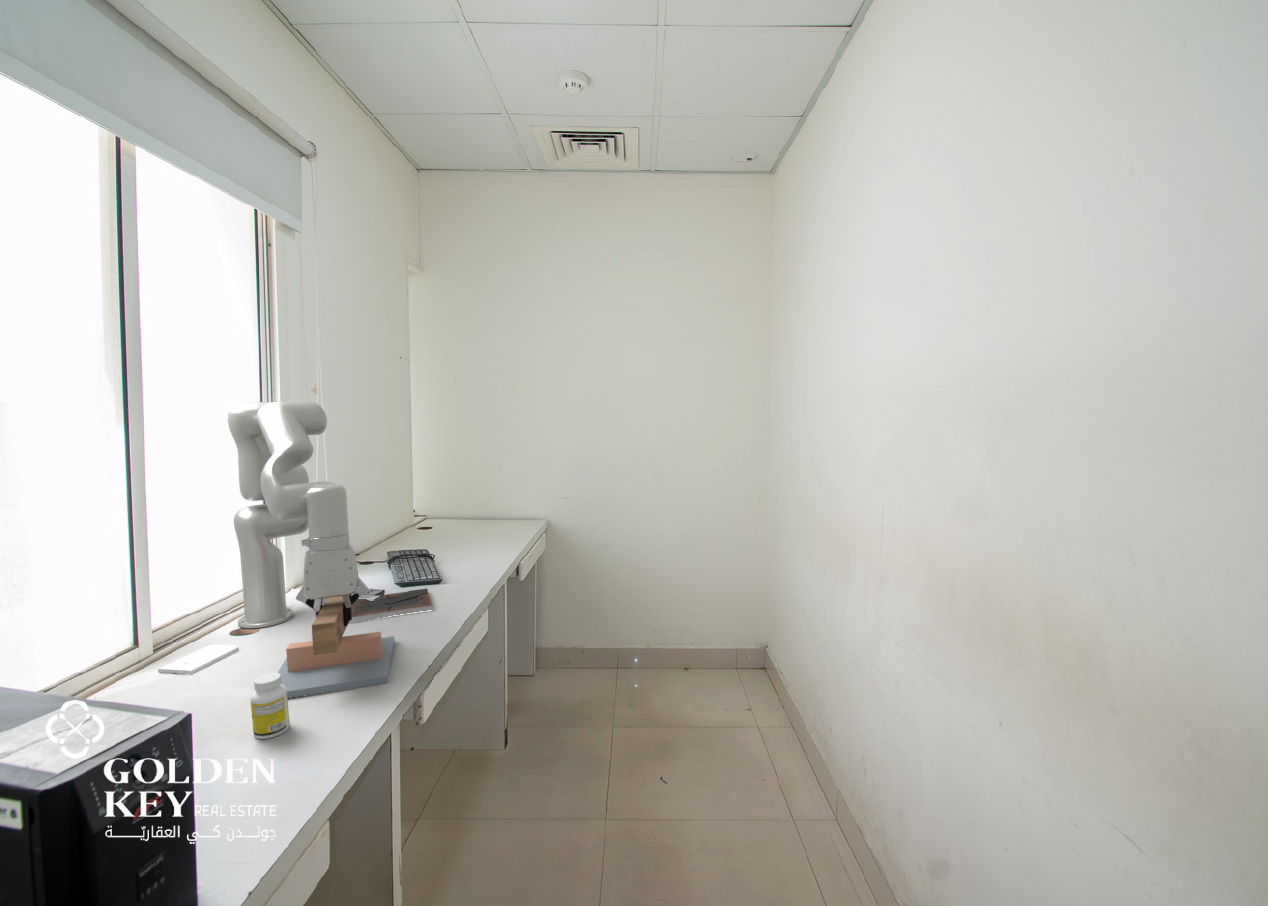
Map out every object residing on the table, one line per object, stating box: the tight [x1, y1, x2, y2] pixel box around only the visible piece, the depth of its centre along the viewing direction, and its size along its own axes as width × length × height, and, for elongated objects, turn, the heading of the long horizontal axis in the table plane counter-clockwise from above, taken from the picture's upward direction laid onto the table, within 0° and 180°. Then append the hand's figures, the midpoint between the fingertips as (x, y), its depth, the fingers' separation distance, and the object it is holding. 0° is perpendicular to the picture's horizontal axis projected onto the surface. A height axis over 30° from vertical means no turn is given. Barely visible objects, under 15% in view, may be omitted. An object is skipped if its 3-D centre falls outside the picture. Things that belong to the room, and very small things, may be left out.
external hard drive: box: [157, 644, 240, 675], centre depth 129 cm, size 2×8×12 cm
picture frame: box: [348, 587, 433, 625], centre depth 162 cm, size 16×2×22 cm
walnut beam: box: [311, 594, 353, 655], centre depth 123 cm, size 24×4×6 cm, turn 19°
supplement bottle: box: [250, 672, 290, 740], centre depth 99 cm, size 5×5×10 cm
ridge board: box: [277, 631, 396, 699], centre depth 123 cm, size 22×22×6 cm
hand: (334, 624), depth 123 cm, fingers closed on walnut beam, 4 cm apart
